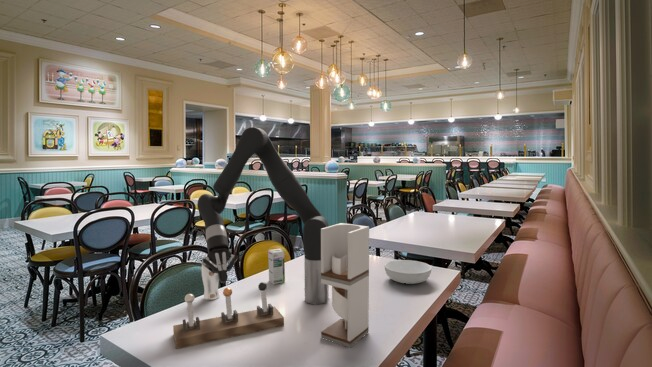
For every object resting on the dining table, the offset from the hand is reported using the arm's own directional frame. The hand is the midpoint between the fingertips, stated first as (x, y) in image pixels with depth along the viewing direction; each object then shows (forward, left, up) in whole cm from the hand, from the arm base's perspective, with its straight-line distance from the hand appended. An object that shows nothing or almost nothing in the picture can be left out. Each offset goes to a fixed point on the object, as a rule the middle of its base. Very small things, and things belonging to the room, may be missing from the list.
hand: (223, 281), depth 132 cm
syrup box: (-10, -40, -14) cm, 43 cm away
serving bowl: (-69, -45, -14) cm, 84 cm away
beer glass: (+12, -20, -14) cm, 27 cm away
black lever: (-15, +1, -10) cm, 18 cm away
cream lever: (+6, +13, -10) cm, 18 cm away
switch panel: (-4, +7, -14) cm, 16 cm away
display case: (-42, +8, -14) cm, 45 cm away
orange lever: (-4, +7, -10) cm, 13 cm away
